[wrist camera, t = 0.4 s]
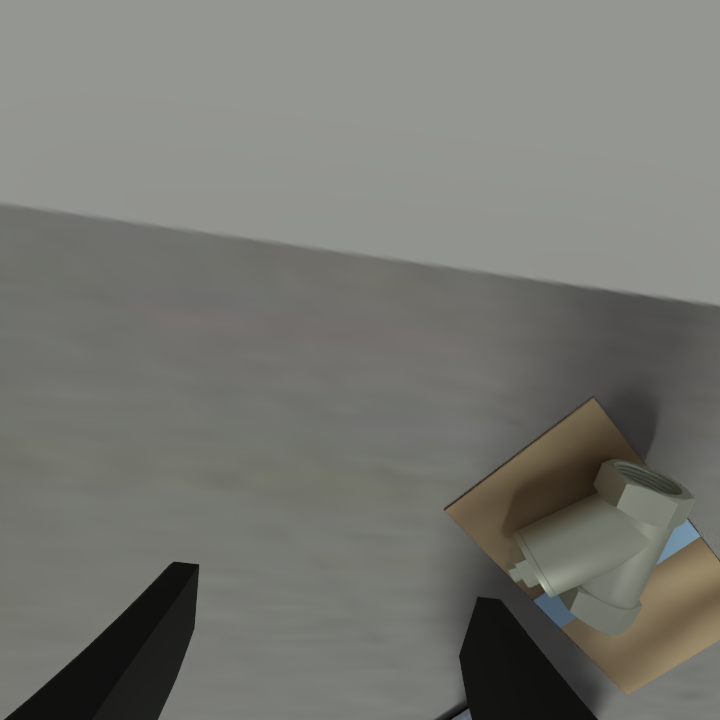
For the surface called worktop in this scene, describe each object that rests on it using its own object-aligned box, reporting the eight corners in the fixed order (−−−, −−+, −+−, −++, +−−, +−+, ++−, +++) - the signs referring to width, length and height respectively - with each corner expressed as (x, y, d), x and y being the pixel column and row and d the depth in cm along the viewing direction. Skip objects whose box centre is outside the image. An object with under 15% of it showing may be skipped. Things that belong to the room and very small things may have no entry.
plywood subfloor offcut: (757, 611, 24) (761, 615, 23) (624, 692, 25) (627, 696, 25) (591, 396, 19) (594, 398, 19) (443, 508, 21) (444, 511, 21)
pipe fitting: (489, 557, 22) (599, 581, 22) (512, 616, 18) (644, 646, 18) (533, 438, 20) (653, 464, 20) (568, 477, 16) (716, 509, 16)
